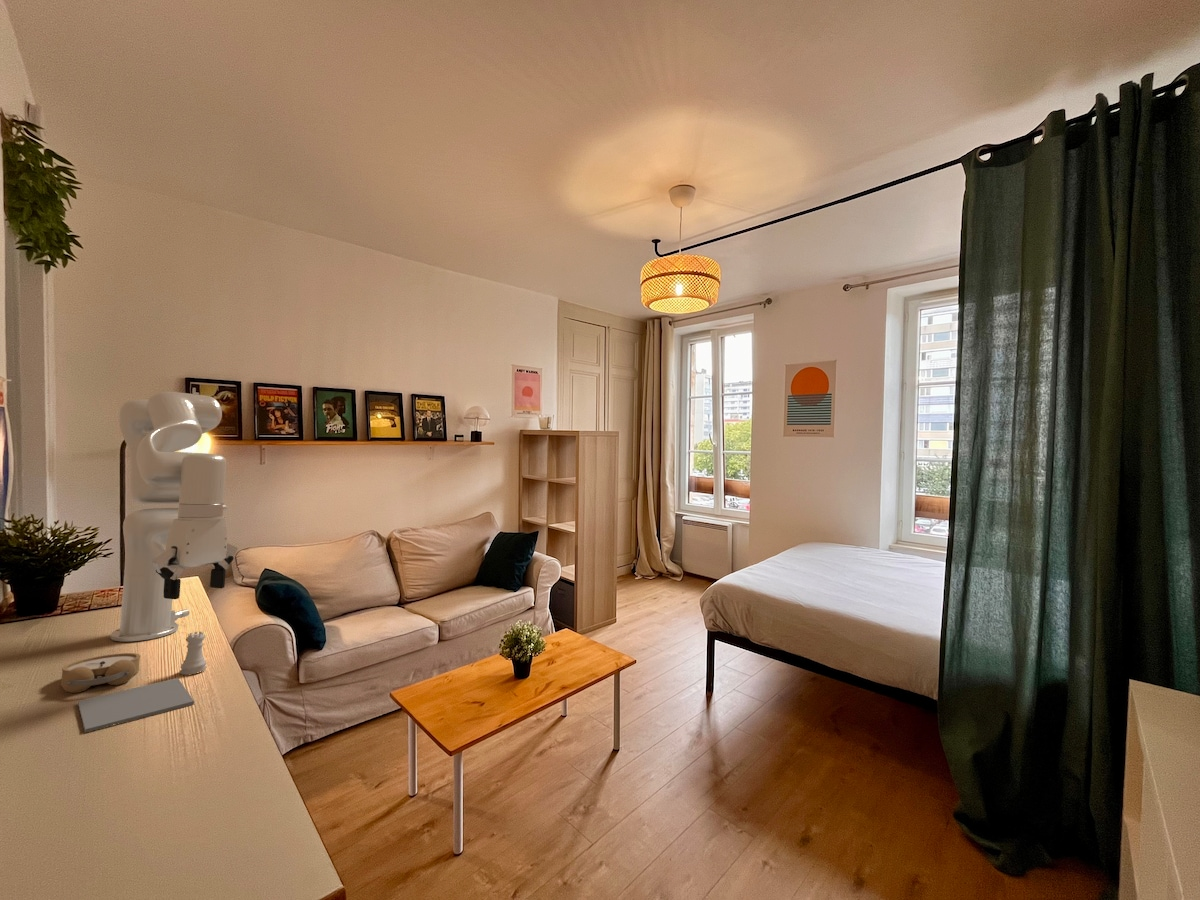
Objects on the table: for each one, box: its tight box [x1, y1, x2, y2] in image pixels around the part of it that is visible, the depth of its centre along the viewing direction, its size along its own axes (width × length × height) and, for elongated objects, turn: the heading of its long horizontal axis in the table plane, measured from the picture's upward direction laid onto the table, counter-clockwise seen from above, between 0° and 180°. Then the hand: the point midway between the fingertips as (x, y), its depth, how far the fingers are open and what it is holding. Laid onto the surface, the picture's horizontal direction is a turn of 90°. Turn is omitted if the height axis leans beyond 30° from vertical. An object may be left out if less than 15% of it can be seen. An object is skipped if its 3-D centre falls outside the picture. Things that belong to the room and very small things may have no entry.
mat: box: [77, 677, 195, 734], centre depth 90 cm, size 14×14×1 cm
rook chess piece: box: [179, 631, 207, 676], centre depth 105 cm, size 4×4×8 cm
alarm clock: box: [60, 652, 141, 694], centre depth 99 cm, size 11×5×15 cm
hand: (195, 592), depth 105 cm, fingers open, 9 cm apart
